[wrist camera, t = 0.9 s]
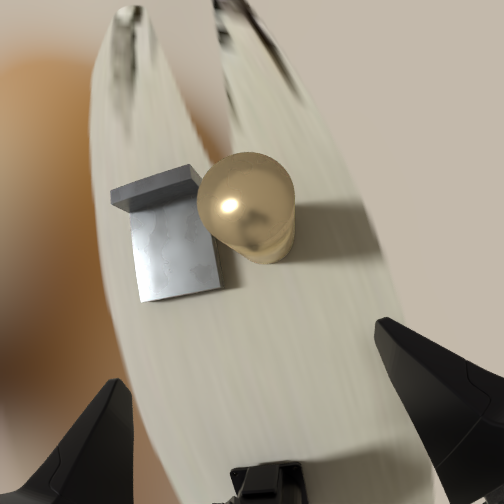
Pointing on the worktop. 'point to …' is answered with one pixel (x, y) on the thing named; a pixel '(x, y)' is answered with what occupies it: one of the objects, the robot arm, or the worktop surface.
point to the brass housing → (249, 206)
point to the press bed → (169, 235)
